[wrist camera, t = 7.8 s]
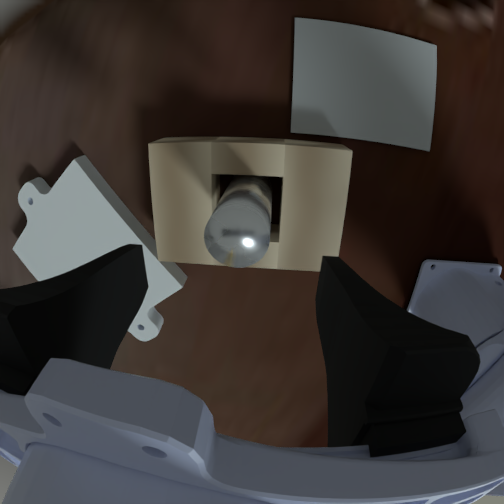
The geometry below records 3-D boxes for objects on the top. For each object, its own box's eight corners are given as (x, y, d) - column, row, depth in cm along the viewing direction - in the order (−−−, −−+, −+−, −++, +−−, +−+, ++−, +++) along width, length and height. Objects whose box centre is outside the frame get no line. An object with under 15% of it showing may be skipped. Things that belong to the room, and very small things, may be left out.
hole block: (342, 144, 19) (352, 150, 16) (329, 251, 23) (335, 272, 20) (164, 137, 20) (148, 143, 17) (171, 242, 23) (158, 261, 21)
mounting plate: (10, 222, 24) (-2, 230, 23) (70, 131, 20) (56, 135, 18) (121, 347, 30) (114, 359, 29) (208, 295, 26) (203, 309, 24)
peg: (276, 173, 21) (276, 214, 13) (267, 214, 22) (262, 272, 15) (232, 165, 20) (208, 201, 13) (226, 206, 22) (200, 260, 15)
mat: (434, 46, 15) (436, 45, 15) (427, 150, 19) (429, 151, 18) (294, 18, 15) (295, 17, 15) (290, 132, 19) (290, 132, 19)
